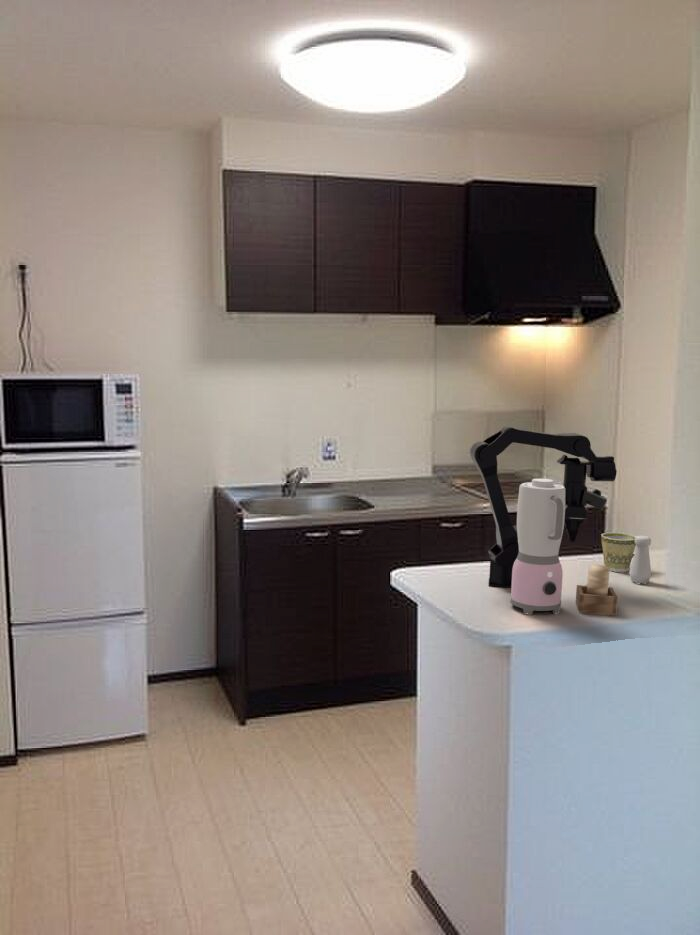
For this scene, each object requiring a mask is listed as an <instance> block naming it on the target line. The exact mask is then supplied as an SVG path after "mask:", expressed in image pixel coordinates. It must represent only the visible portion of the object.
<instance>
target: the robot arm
mask: <svg viewBox="0 0 700 935" xmlns="http://www.w3.org/2000/svg"><path fill="white" fill-rule="evenodd" d="M513 443H515V444H521V445H526V446H527V445H528V446H529V445H530V446H534V447H541V448H547V449H553V450H557V451H559V452H563V453H565V454H563V455H562V456H561V457H560V458H558V459H557V460H556V463H558V464H559V465H564V470H563V471H564V472H563V473H564V474H563V482H562V486H564V488H565V518H564V527H565V529H566V530H565V531H566V533H567V535H568V538H569V541H570V543H574V542H576V539H577V536H578V532H579V529H580V526H581V525H582V523H584V522H585V521H587V519H589V510H588V508H587V505H588V506H591V507H593V508H596V509H598V510H599V511H603V510H604V508H605V506H606V504H607V501H608V499H607V498H606V497H605V496H603V495H602V491H601V490H599V489H596V488H594V489H593V490H592V491H591V490H589V489H588V487H587V485H586V482H587V478H589V479H590V481H591V482H614V481H615V480H616V477H617V472H618V471H617V468H616V462H615V457H614V456H612V455H605V456H597V455H596V454H595V452H594V451H593V450H592V448H591V441H590V439H589V438H588V437H587V436H584V435H581V434H580V433H576V432H569V433H567V432H565V433H564V432H563V433H548V432H543V431H535V430H529V429H521V428H515V427H513V426H509V425H508V426H505V427H503V428H502V429H500V430H499V431H497V432H496V433H494V434H492V435H490V436H488V437H487V438H485V439H484V440H483V441H477V442H474V444H472V446H471V447H470V448H469V455H470V457H471V460H472V461H473V464H474V466H475V467H476V469H477V471H478V473H479V475H480V476H481V479H482V481H483V485H484V488H485V491H486V496H487V499H488V501H489V506H490V508H491V512H492V513H491V514H492V515H493V520H494V522H495V538H496V543H495V544H494V545H493V546H492V547H491V548H490V549H489V550H488V555H489V558H490V560H489V575H488V577H489V578H488V586H489V587H501V588H511V587H512V569H513V565H514V562H515V560H516V558H517V556H518V553H519V544H518V534H517V524H515V525H513V523H512V521H511V518H510V514H509V511H508V508H507V503H506V501H505V500H506V499H505V497H504V493H503V490H502V486H501V484H500V481H499V480H500V479H499V477H498V455H500V454H502V453H503V452H504V451H505V450H506V449H507V448H509V446H510V445H511V444H513ZM566 454H569V455H571V456H574V457H569V456H568V455H566ZM580 458H582V459H584V460H586V461H583V460H580Z"/></svg>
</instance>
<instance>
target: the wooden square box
mask: <svg viewBox="0 0 700 935" xmlns="http://www.w3.org/2000/svg"><path fill="white" fill-rule="evenodd" d="M586 593H587V585H582V584H581V585H580V584H577V585H576V591H575V606H576V609H577V612H578V614H585V615H586V614H587V615H599V616H615V617H616V616H617V610H618V595H617V593H616V592H615V589H614V588H613V587H611V586H610V587H609V586H608V595H607V596H605V595H590V594H586Z"/></svg>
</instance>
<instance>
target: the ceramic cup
mask: <svg viewBox="0 0 700 935" xmlns="http://www.w3.org/2000/svg"><path fill="white" fill-rule="evenodd" d="M600 535H601V536H600V538H601V547H602V556H603V566H607V567H609V568H610V572H612V571H614V572H613V573H626V571H627V572H629V571H630V568H631V564H632V561H633V557H634V554H635V550H636V546H637V545H636V544H635V537H636V536H637V535H634V534H630V533H624V532H610V531H609V532H604V533H601V534H600Z"/></svg>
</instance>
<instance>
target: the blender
mask: <svg viewBox="0 0 700 935" xmlns="http://www.w3.org/2000/svg"><path fill="white" fill-rule="evenodd" d="M564 518H565V488H564V486H563V484H558V483H554V480H552V479H551V478H550V479H549V478H532V480H531V481H530V482H523V483H521V484H519V490H518V499H517V510H516V526H517V534H518V544H519V553H518V556H517V558H516V560H515V562H514V565H513V569H512V587H510V589H511V591H510V593H511V594H510V604H511V605H512V606H514V607H517V608H521V609H523V614H524V613H528V614H527V615H529V614H532V615H533V613H534V612H533V611H537V612H538V611H540V612H543V611H544V612H547V611H552V614H553V613H554V614H553V615H556V613H557V614H558V613H560V608H561V606H562V588H563V574H564V572H563V567H562V564H561V561H560V558H559V552H560V546H561V543H562V538H563V534H564V530H565V528H564V527H565V524H564Z"/></svg>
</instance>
